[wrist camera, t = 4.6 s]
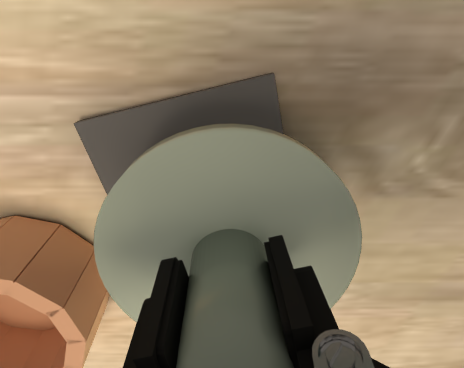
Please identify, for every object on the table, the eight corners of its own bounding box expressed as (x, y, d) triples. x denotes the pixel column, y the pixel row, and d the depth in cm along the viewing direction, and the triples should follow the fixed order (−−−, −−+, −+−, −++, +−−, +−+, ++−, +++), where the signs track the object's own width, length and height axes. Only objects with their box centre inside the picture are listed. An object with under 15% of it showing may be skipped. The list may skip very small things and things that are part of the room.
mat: (272, 72, 16) (274, 73, 15) (296, 234, 20) (299, 238, 20) (77, 121, 16) (73, 123, 15) (146, 270, 21) (145, 275, 20)
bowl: (71, 201, 18) (26, 253, 13) (131, 312, 22) (112, 379, 18) (-83, 239, 18) (-180, 302, 13) (6, 341, 22) (-44, 415, 18)
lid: (342, 93, 11) (543, 160, 4) (355, 306, 15) (458, 501, 9) (59, 159, 11) (-169, 310, 5) (153, 344, 16) (105, 553, 9)
